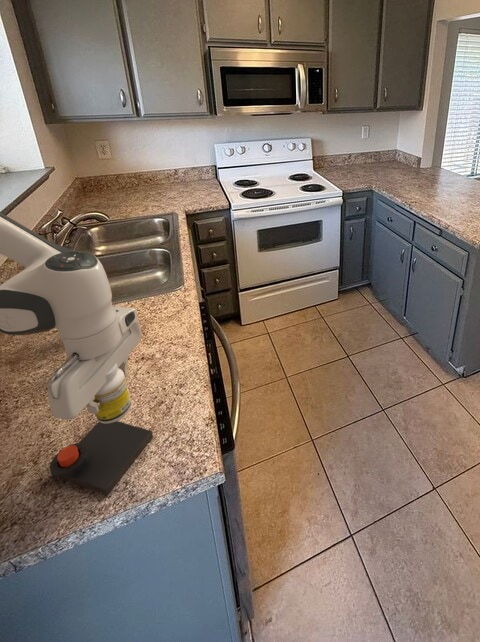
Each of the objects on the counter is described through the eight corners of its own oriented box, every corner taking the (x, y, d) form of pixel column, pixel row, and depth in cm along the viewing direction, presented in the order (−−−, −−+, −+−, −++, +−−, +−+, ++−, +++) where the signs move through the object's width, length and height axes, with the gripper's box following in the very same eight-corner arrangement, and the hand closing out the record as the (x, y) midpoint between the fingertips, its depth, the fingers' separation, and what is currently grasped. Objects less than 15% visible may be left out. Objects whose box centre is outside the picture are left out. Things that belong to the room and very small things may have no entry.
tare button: (55, 465, 69) (53, 458, 68) (70, 449, 72) (68, 443, 71) (68, 469, 68) (65, 463, 67) (83, 453, 71) (81, 447, 70)
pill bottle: (99, 404, 73) (86, 362, 69) (132, 394, 75) (122, 352, 71) (94, 430, 67) (80, 385, 64) (131, 418, 70) (119, 374, 66)
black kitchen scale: (47, 481, 69) (41, 469, 68) (103, 422, 81) (99, 411, 79) (103, 502, 65) (98, 489, 64) (153, 437, 77) (150, 425, 76)
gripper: (64, 382, 55) (86, 445, 60) (141, 304, 74) (153, 356, 79) (27, 379, 56) (51, 442, 60) (112, 302, 75) (126, 355, 79)
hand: (109, 393), depth 70 cm, fingers closed on pill bottle, 6 cm apart
